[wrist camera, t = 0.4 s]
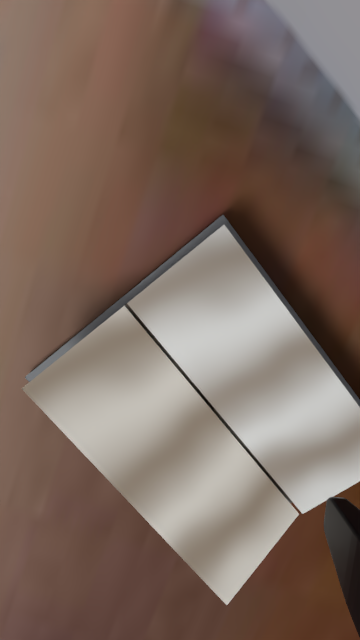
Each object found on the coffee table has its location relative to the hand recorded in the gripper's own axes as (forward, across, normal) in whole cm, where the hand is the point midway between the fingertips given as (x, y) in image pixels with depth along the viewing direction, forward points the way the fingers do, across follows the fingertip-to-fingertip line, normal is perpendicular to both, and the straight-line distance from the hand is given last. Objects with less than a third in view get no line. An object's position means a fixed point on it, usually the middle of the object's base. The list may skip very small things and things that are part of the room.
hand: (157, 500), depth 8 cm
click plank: (+11, +1, +6) cm, 12 cm away
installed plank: (+13, -5, +1) cm, 14 cm away
